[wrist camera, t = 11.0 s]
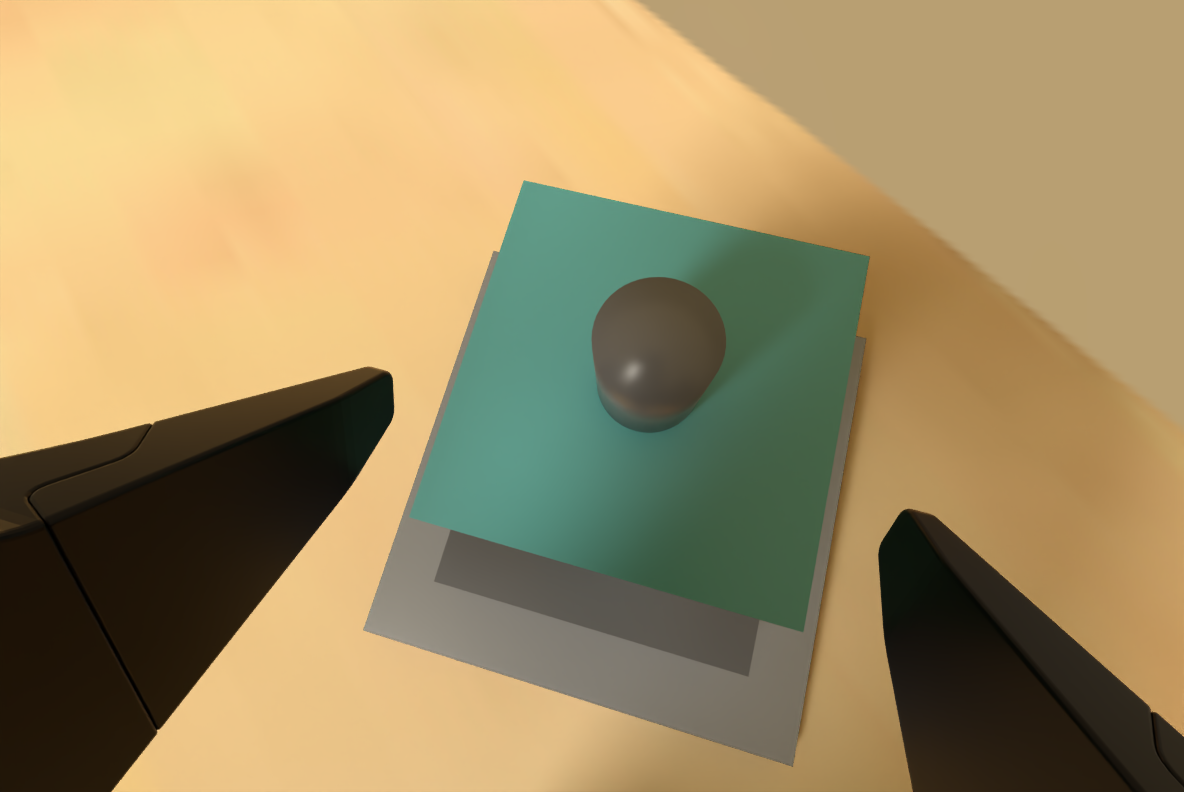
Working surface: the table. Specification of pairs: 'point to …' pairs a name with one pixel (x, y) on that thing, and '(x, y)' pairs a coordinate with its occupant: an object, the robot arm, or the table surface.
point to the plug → (652, 401)
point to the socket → (605, 622)
